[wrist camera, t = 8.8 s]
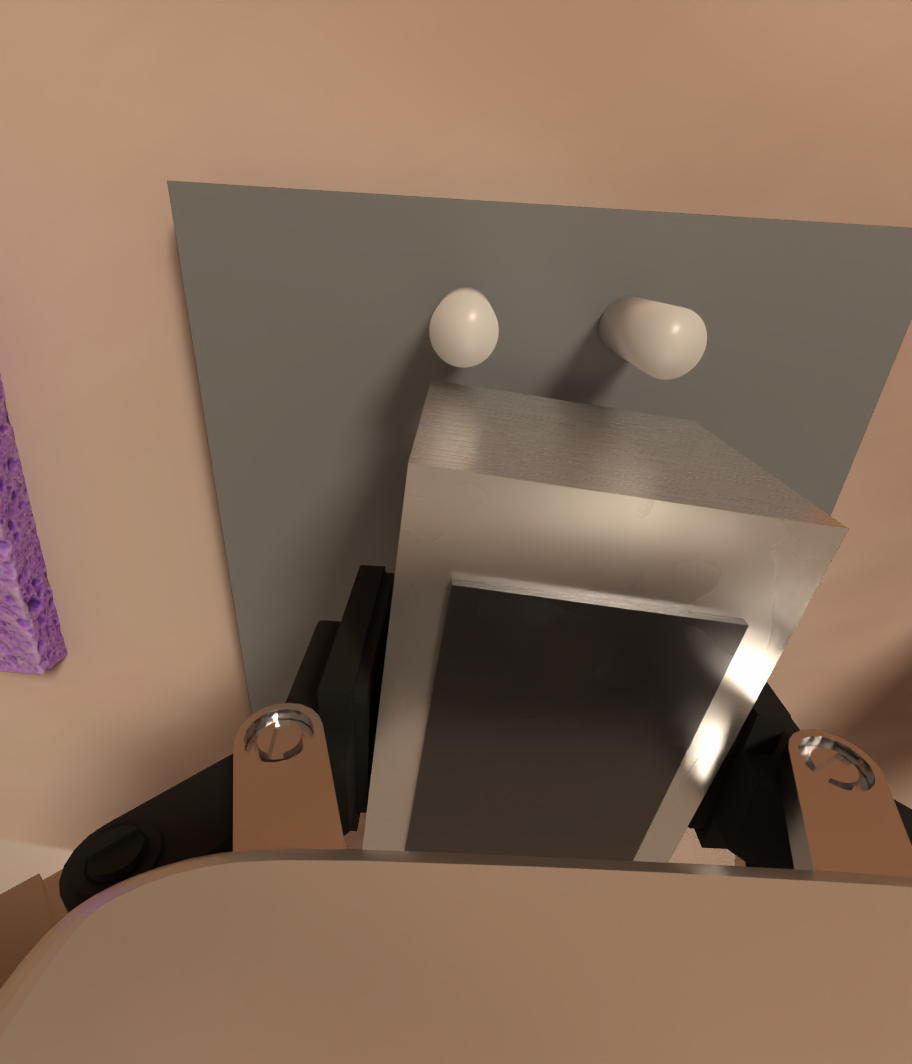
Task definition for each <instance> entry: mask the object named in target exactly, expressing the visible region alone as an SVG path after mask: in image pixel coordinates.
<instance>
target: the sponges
mask: <svg viewBox="0 0 912 1064" xmlns="http://www.w3.org/2000/svg"><path fill="white" fill-rule="evenodd" d="M4 402H5V392H4V388H3V384H2V380H1V375H0V671H7V672H15V673H33V674H38V675H44V674H45V671H46V670H47V669H50V668H52V667H54V666H55V664H56V663H57V662H58V661H60V660H61V659H62V658H64V657H65V656H66V655H67V649H66V647H65V644H64V639H63V636H62V635H61V633H60V623H59V619H58V615H57V611H56V608H55V606H54V603H53V594H52V589H51V587H50V585H49V584H48V581H47V573H46V566H45V562H44V559H43V556H42V551H41V548H40V542H39V539H38V537H37V533H36V524H35V520H34V517H33V514H32V509H31V505H30V501H29V497H28V493H27V489H26V484H25V479H24V476H23V472H22V467H21V462H20V458H19V454H18V450H17V446H16V443H15V436H14V431H13V427H12V426H11V424H10V422H9V419H8V412H7V410H6V409H5V404H4Z"/></svg>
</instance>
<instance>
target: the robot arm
mask: <svg viewBox="0 0 912 1064" xmlns="http://www.w3.org/2000/svg"><path fill="white" fill-rule="evenodd" d="M393 586H394V573H386V569H385V566H371V565H360V567H359V570H358V573H357V576H356V579H355V582H354V585H353V588H352V590H351V593H350V596H349V599H348V602H347V605H346V608H345V611H344V614H343V617H342V620H341V621H326V620H320V621H319V622H318V624H317V626H316V628H315V630H314V633H313V635H312V638H311V640H310V643H309V645H308V648H307V650H306V653H305V655H304V658H303V660H302V663H301V665H300V668H299V670H298V673H297V675H296V678H295V680H294V683H293V685H292V687H291V690H290V692H289V695H288V697H287V700H286V702H285V703H282V704H275V705H272V706H269V707H265V708H263V709H261V710H259V711H257V712H256V713H254V714H252V715H251V716H250V717H249V718H248V719H246V720H245V721H244V722H243V723H242V724H241V726H240V728H239V729H238V731H237V732H236V734H235V739H234V744H233V754H232V755H230V756H228V757H226V758H224V759H223V760H221V761H219V762H217V763H215V764H214V765H212V766H210V767H208V768H206V769H205V770H203V771H201V772H199V773H197V774H196V775H194V776H192V777H190V778H188V779H187V780H185V781H183V782H181V783H179V784H178V785H176V786H174V787H172V788H170V789H169V790H167V791H165V792H163V793H161V794H160V795H158V796H156V797H154V798H152V799H151V800H149V801H147V802H145V803H143V804H142V805H140V806H138V807H136V808H134V809H133V810H131V811H129V812H127V813H125V814H124V815H122V816H120V817H118V818H116V819H115V820H113V821H111V822H109V823H107V824H106V825H104V826H102V827H101V828H100V829H98V830H97V831H95V832H94V833H92V834H91V835H89V836H88V837H87V838H86V839H85V840H84V841H83V842H82V843H81V844H80V845H79V846H78V847H77V848H76V849H75V850H74V851H73V853H72V854H71V856H70V857H69V859H68V861H67V862H66V864H65V865H64V868H63V869H62V870H60V871H58V872H57V873H55V874H53V875H51V876H50V877H48V878H46V879H44V880H42V878H41V876H40V874H37V875H35V876H34V877H32V878H30V879H28V880H26V881H24V882H22V883H21V884H19V885H17V886H15V887H13V888H11V889H10V890H8V891H6V892H4V893H2V894H0V1064H912V809H910V808H908V807H906V806H905V805H903V804H901V803H899V802H897V801H896V800H894V799H893V796H892V794H891V791H890V788H889V786H888V783H887V781H886V778H885V776H884V774H883V773H882V771H881V769H880V767H879V766H878V765H877V764H876V763H875V762H874V761H873V760H872V758H871V757H870V756H869V755H868V754H866V753H865V752H864V751H862V750H861V749H860V748H858V747H857V746H856V745H854V744H852V743H850V742H848V741H847V740H845V739H843V738H841V737H838V736H836V735H833V734H830V733H828V732H824V731H818V730H801V731H800V730H799V728H798V727H797V725H796V724H795V723H794V721H793V720H792V718H791V715H790V714H789V712H788V711H787V710H786V708H785V707H784V705H783V704H782V703H781V701H780V700H779V698H778V697H777V696H776V694H775V693H774V691H773V690H772V689H771V687H770V686H769V684H768V683H767V682H766V683H765V685H764V687H763V689H762V690H761V692H760V694H759V696H758V698H757V700H756V702H755V703H754V705H753V707H752V709H751V711H750V713H749V714H748V716H747V718H746V720H745V722H744V724H743V725H742V727H741V729H740V731H739V733H738V735H737V737H736V738H735V740H734V742H733V744H732V746H731V748H730V749H729V751H728V753H727V755H726V757H725V759H724V761H723V762H722V764H721V766H720V768H719V770H718V772H717V773H716V775H715V777H714V779H713V781H712V783H711V784H710V786H709V788H708V790H707V792H706V794H705V796H704V797H703V799H702V801H701V803H700V805H699V807H698V808H697V810H696V812H695V814H694V816H693V818H692V820H691V821H690V823H689V825H688V827H689V828H694V829H695V831H696V834H697V836H698V839H699V841H700V844H701V846H702V848H721V849H728V850H730V851H731V852H732V853H734V854H735V855H736V856H735V866H722V865H704V864H684V863H663V862H642V861H622V860H601V859H579V858H558V857H536V856H513V855H489V854H465V853H442V852H418V851H394V850H354V849H346V848H345V843H344V837H343V836H344V835H346V834H347V833H348V832H349V831H357V828H358V823H359V817H360V812H364V813H367V805H368V797H369V788H370V780H371V771H372V763H373V755H374V746H375V738H376V729H377V721H378V713H379V704H380V696H381V687H382V679H383V671H384V662H385V654H386V645H387V637H388V628H389V620H390V612H391V603H392V595H393Z"/></svg>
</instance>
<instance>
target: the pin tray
mask: <svg viewBox="0 0 912 1064" xmlns="http://www.w3.org/2000/svg"><path fill="white" fill-rule="evenodd" d="M167 184H168V190H169V196H170V203H171V209H172V215H173V222H174V228H175V234H176V240H177V247H178V253H179V259H180V266H181V272H182V278H183V285H184V291H185V297H186V304H187V310H188V316H189V322H190V329H191V335H192V341H193V348H194V354H195V360H196V367H197V373H198V379H199V386H200V392H201V398H202V404H203V411H204V417H205V423H206V430H207V436H208V442H209V449H210V455H211V461H212V468H213V474H214V480H215V486H216V493H217V499H218V505H219V512H220V518H221V524H222V531H223V537H224V543H225V550H226V556H227V562H228V568H229V575H230V581H231V587H232V594H233V600H234V606H235V613H236V619H237V625H238V632H239V638H240V644H241V650H242V657H243V663H244V669H245V676H246V682H247V688H248V695H249V701H250V707H251V714H254V713H256V712H257V711H259V710H261V709H263V708H265V707H269V706H272V705H275V704H282V703H285V702H286V700H287V697H288V695H289V692H290V690H291V687H292V685H293V683H294V680H295V678H296V675H297V673H298V670H299V668H300V665H301V663H302V660H303V658H304V655H305V653H306V650H307V648H308V645H309V643H310V640H311V638H312V635H313V633H314V630H315V628H316V626H317V624H318V622H319V621H320V620H326V621H341V620H342V617H343V614H344V611H345V608H346V605H347V602H348V599H349V596H350V593H351V590H352V588H353V585H354V582H355V579H356V576H357V573H358V570H359V567H360V565H371V566H385V569H386V573H394V578H395V570H396V561H397V553H398V544H399V536H400V528H401V519H402V511H403V502H404V494H405V486H406V477H407V469H408V462H409V458H410V455H411V451H412V447H413V444H414V440H415V436H416V433H417V429H418V426H419V422H420V418H421V415H422V411H423V407H424V404H425V400H426V397H427V393H428V389H429V386H430V382H431V379H432V380H438V381H444V382H451V383H457V384H463V385H469V386H476V387H482V388H488V389H495V390H501V391H507V392H514V393H520V394H526V395H532V396H539V397H545V398H551V399H558V400H564V401H570V402H577V403H583V404H589V405H595V406H602V407H608V408H614V409H621V410H627V411H633V412H640V413H646V414H652V415H659V416H665V417H671V418H677V419H684V420H690V421H695V422H696V423H698V424H699V425H701V426H702V427H704V428H705V429H706V430H708V431H709V432H711V433H712V434H714V435H715V436H716V437H718V438H719V439H721V440H722V441H724V442H725V443H726V444H728V445H729V446H731V447H732V448H734V449H735V450H737V451H738V452H739V453H741V454H742V455H744V456H745V457H747V458H748V459H749V460H751V461H752V462H754V463H755V464H757V465H758V466H759V467H761V468H762V469H764V470H765V471H767V472H768V473H770V474H771V475H772V476H774V477H775V478H777V479H778V480H780V481H781V482H782V483H784V484H785V485H787V486H788V487H790V488H791V489H792V490H794V491H795V492H797V493H798V494H800V495H801V496H803V497H804V498H805V499H807V500H808V501H810V502H811V503H813V504H814V505H815V506H817V507H818V508H820V509H821V510H823V511H824V512H825V513H827V514H828V515H830V516H831V514H832V511H833V509H834V507H835V504H836V502H837V499H838V497H839V494H840V492H841V490H842V487H843V485H844V482H845V480H846V477H847V475H848V472H849V470H850V468H851V465H852V463H853V460H854V458H855V455H856V453H857V451H858V448H859V446H860V443H861V441H862V438H863V436H864V434H865V431H866V429H867V426H868V424H869V421H870V419H871V417H872V414H873V412H874V409H875V407H876V404H877V402H878V399H879V397H880V395H881V392H882V390H883V387H884V385H885V382H886V380H887V378H888V375H889V373H890V370H891V368H892V365H893V363H894V361H895V358H896V356H897V353H898V351H899V348H900V346H901V344H902V341H903V339H904V336H905V334H906V331H907V329H908V326H909V324H910V322H911V319H912V228H907V227H892V226H876V225H860V224H844V223H828V222H812V221H797V220H781V219H765V218H749V217H733V216H717V215H702V214H686V213H670V212H654V211H638V210H623V209H607V208H591V207H575V206H559V205H543V204H528V203H512V202H496V201H480V200H464V199H449V198H433V197H417V196H401V195H385V194H369V193H354V192H338V191H322V190H306V189H290V188H274V187H259V186H243V185H227V184H211V183H195V182H180V181H167Z"/></svg>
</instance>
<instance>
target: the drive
mask: <svg viewBox="0 0 912 1064" xmlns="http://www.w3.org/2000/svg"><path fill="white" fill-rule="evenodd" d="M848 530H849V529H848V528H847V527H846V526H844V525H843V524H841V523H840V522H838V521H837V520H835V519H834V518H833V517H831V516H830V515H828V514H827V513H825V512H824V511H823V510H821V509H820V508H818V507H817V506H815V505H814V504H813V503H811V502H810V501H808V500H807V499H805V498H804V497H803V496H801V495H800V494H798V493H797V492H795V491H794V490H792V489H791V488H790V487H788V486H787V485H785V484H784V483H782V482H781V481H780V480H778V479H777V478H775V477H774V476H772V475H771V474H770V473H768V472H767V471H765V470H764V469H762V468H761V467H759V466H758V465H757V464H755V463H754V462H752V461H751V460H749V459H748V458H747V457H745V456H744V455H742V454H741V453H739V452H738V451H737V450H735V449H734V448H732V447H731V446H729V445H728V444H726V443H725V442H724V441H722V440H721V439H719V438H718V437H716V436H715V435H714V434H712V433H711V432H709V431H708V430H706V429H705V428H704V427H702V426H701V425H699V424H698V423H696V422H695V421H690V420H684V419H677V418H671V417H665V416H659V415H652V414H646V413H640V412H633V411H627V410H621V409H614V408H608V407H602V406H595V405H589V404H583V403H577V402H570V401H564V400H558V399H551V398H545V397H539V396H532V395H526V394H520V393H514V392H507V391H501V390H495V389H488V388H482V387H476V386H469V385H463V384H457V383H451V382H444V381H438V380H432V379H431V382H430V386H429V389H428V393H427V397H426V400H425V404H424V407H423V411H422V415H421V418H420V422H419V426H418V429H417V433H416V436H415V440H414V444H413V447H412V451H411V455H410V458H409V462H408V469H407V477H406V486H405V494H404V502H403V511H402V519H401V528H400V536H399V544H398V553H397V561H396V570H395V578H394V586H393V595H392V603H391V612H390V620H389V628H388V637H387V645H386V654H385V662H384V671H383V679H382V687H381V696H380V704H379V713H378V721H377V729H376V738H375V746H374V755H373V763H372V771H371V780H370V788H369V797H368V805H367V814H366V822H365V830H364V839H363V847H362V850H394V851H418V852H442V853H465V854H489V855H513V856H536V857H558V858H579V859H601V860H622V861H642V862H663V863H668V862H669V860H670V858H671V856H672V855H673V853H674V851H675V849H676V847H677V845H678V844H679V842H680V840H681V838H682V836H683V834H684V832H685V831H686V829H687V827H688V825H689V823H690V821H691V820H692V818H693V816H694V814H695V812H696V810H697V808H698V807H699V805H700V803H701V801H702V799H703V797H704V796H705V794H706V792H707V790H708V788H709V786H710V784H711V783H712V781H713V779H714V777H715V775H716V773H717V772H718V770H719V768H720V766H721V764H722V762H723V761H724V759H725V757H726V755H727V753H728V751H729V749H730V748H731V746H732V744H733V742H734V740H735V738H736V737H737V735H738V733H739V731H740V729H741V727H742V725H743V724H744V722H745V720H746V718H747V716H748V714H749V713H750V711H751V709H752V707H753V705H754V703H755V702H756V700H757V698H758V696H759V694H760V692H761V690H762V689H763V687H764V685H765V683H766V681H767V679H768V678H769V676H770V674H771V672H772V670H773V668H774V666H775V665H776V663H777V661H778V659H779V657H780V655H781V654H782V652H783V650H784V648H785V646H786V644H787V642H788V641H789V639H790V637H791V635H792V633H793V631H794V630H795V628H796V626H797V624H798V622H799V620H800V619H801V617H802V615H803V613H804V611H805V609H806V607H807V606H808V604H809V602H810V600H811V598H812V596H813V595H814V593H815V591H816V589H817V587H818V585H819V583H820V582H821V580H822V578H823V576H824V574H825V572H826V571H827V569H828V567H829V565H830V563H831V561H832V560H833V558H834V556H835V554H836V552H837V550H838V548H839V547H840V545H841V543H842V541H843V539H844V537H845V536H846V534H847V532H848Z"/></svg>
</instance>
